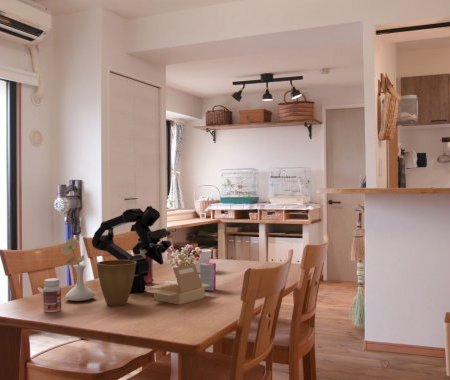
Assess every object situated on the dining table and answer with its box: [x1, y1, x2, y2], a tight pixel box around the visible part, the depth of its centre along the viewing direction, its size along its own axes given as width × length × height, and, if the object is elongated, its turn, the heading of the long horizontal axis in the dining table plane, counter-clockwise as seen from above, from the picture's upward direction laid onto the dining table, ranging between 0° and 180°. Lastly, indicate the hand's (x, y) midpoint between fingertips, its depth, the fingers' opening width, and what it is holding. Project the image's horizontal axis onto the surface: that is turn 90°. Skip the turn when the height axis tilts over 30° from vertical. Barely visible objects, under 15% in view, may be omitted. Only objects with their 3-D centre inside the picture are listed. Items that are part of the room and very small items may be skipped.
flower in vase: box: [60, 237, 96, 302], centre depth 203 cm, size 13×11×25 cm
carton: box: [146, 281, 211, 306], centre depth 204 cm, size 19×24×4 cm
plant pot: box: [96, 259, 136, 307], centre depth 196 cm, size 15×15×16 cm
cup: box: [195, 248, 212, 274], centre depth 266 cm, size 12×12×11 cm
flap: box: [172, 263, 202, 292], centre depth 200 cm, size 1×12×10 cm, turn 142°
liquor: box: [138, 250, 154, 285], centre depth 236 cm, size 7×7×28 cm
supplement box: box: [199, 262, 217, 292], centre depth 219 cm, size 6×6×12 cm
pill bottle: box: [42, 277, 62, 313], centre depth 186 cm, size 6×6×11 cm
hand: (162, 263), depth 209 cm, fingers closed
